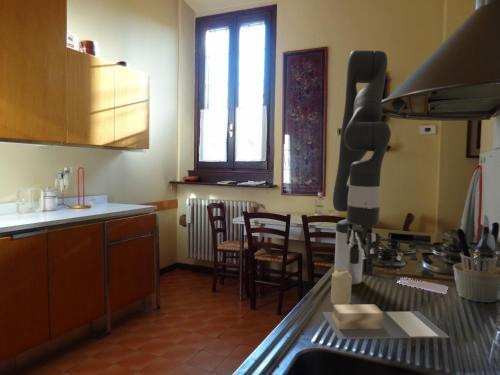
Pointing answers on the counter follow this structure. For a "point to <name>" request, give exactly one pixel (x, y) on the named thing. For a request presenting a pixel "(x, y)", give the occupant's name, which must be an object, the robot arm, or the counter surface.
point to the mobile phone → (423, 285)
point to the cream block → (357, 316)
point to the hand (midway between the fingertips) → (360, 268)
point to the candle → (341, 287)
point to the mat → (392, 327)
